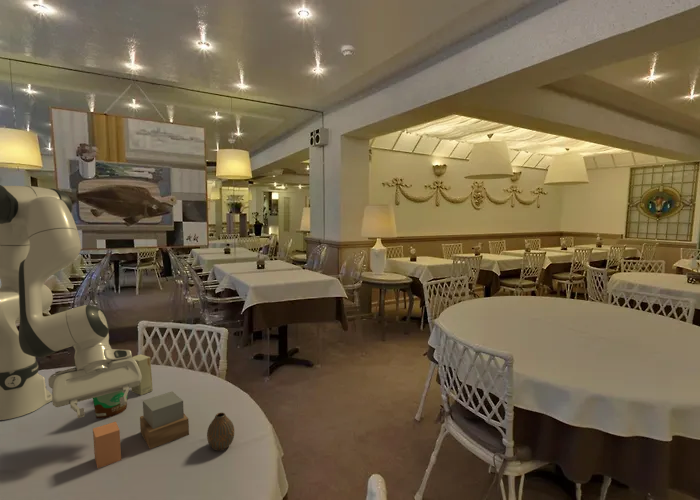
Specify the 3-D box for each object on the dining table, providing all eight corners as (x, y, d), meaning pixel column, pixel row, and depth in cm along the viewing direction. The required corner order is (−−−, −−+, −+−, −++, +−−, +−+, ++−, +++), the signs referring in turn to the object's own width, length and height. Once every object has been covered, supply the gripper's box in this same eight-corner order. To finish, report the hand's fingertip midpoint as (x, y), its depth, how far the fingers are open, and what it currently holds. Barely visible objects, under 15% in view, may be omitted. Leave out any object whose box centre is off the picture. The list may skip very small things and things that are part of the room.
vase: (219, 457, 97) (218, 424, 96) (201, 448, 100) (200, 416, 99) (240, 443, 102) (239, 412, 102) (223, 435, 106) (222, 405, 105)
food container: (109, 423, 112) (107, 390, 111) (91, 420, 113) (89, 388, 112) (140, 402, 124) (138, 373, 123) (124, 400, 125) (122, 371, 124)
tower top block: (143, 417, 106) (142, 400, 106) (173, 407, 112) (172, 391, 112) (153, 429, 101) (152, 411, 100) (183, 417, 106) (183, 400, 106)
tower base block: (140, 433, 107) (139, 416, 107) (177, 421, 114) (177, 405, 113) (149, 450, 100) (149, 432, 99) (189, 435, 106) (188, 418, 106)
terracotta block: (94, 458, 96) (92, 428, 95) (117, 450, 99) (115, 421, 98) (97, 468, 92) (95, 437, 91) (121, 460, 95) (119, 429, 95)
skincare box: (153, 391, 132) (151, 357, 131) (140, 396, 128) (138, 361, 127) (143, 386, 135) (141, 353, 134) (130, 391, 132) (128, 357, 131)
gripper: (47, 368, 97) (52, 419, 91) (136, 349, 111) (147, 393, 104) (48, 379, 101) (53, 429, 95) (134, 359, 114) (144, 402, 108)
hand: (103, 410), depth 100 cm, fingers open, 8 cm apart
